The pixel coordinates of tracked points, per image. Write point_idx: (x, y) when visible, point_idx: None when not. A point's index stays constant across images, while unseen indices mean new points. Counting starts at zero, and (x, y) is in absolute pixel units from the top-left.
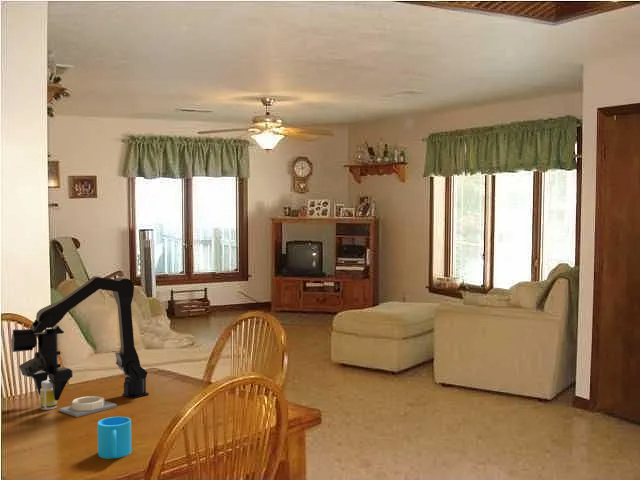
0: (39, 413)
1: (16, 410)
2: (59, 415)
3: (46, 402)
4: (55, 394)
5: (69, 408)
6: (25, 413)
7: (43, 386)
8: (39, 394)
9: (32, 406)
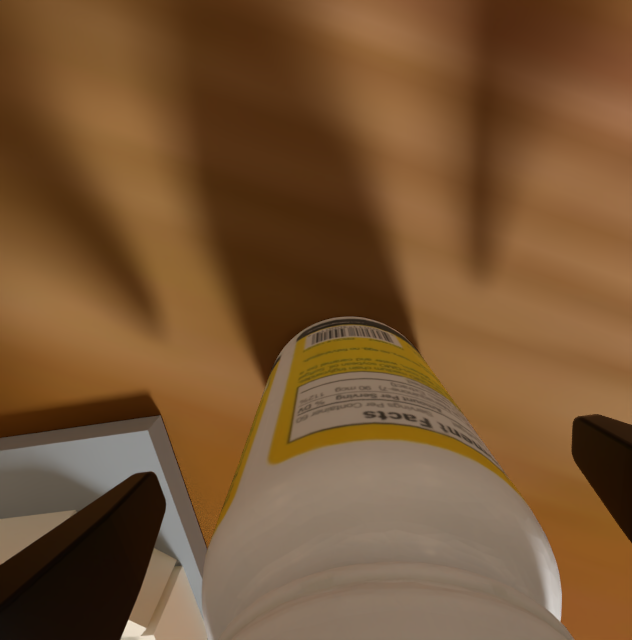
0: (197, 243)
1: (528, 53)
2: (12, 369)
3: (270, 383)
4: (24, 551)
5: (95, 496)
6: (301, 108)
7: (298, 604)
8: (598, 420)
9: (540, 280)
